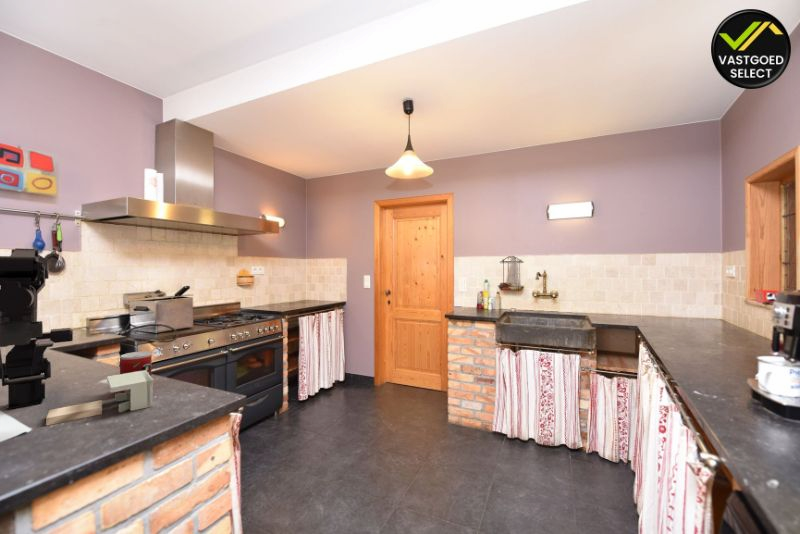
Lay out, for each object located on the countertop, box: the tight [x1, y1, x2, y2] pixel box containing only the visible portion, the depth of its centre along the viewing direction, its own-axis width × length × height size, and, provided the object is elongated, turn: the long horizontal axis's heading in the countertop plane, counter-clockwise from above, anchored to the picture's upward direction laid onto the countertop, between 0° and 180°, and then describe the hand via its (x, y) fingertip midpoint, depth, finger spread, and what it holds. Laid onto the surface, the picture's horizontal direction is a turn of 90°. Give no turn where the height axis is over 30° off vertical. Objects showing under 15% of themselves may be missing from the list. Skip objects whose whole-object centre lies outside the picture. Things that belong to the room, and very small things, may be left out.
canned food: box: [119, 350, 153, 393], centre depth 106 cm, size 8×8×11 cm
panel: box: [45, 399, 103, 426], centre depth 87 cm, size 10×6×2 cm, turn 131°
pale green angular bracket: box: [106, 370, 154, 413], centre depth 95 cm, size 9×13×7 cm
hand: (17, 376), depth 81 cm, fingers open, 5 cm apart
